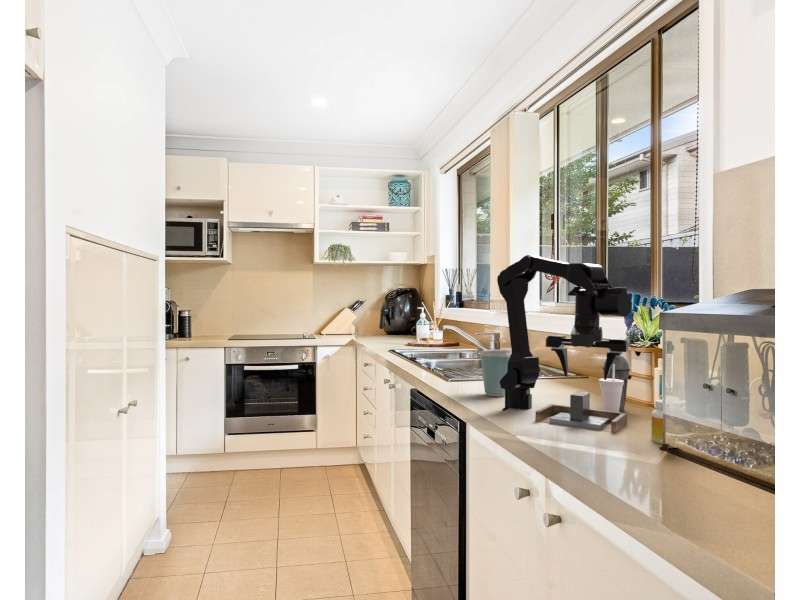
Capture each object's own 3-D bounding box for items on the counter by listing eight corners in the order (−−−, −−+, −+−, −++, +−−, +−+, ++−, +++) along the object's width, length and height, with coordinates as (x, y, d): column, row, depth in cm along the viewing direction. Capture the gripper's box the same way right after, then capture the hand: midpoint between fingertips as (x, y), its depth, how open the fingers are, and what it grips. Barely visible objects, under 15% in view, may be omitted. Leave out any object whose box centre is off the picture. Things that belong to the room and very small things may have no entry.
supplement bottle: (667, 451, 115) (668, 404, 115) (645, 444, 120) (646, 400, 120) (684, 448, 117) (685, 402, 117) (662, 441, 122) (662, 398, 122)
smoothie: (625, 419, 145) (626, 365, 145) (600, 417, 146) (600, 364, 146) (621, 414, 151) (621, 363, 151) (596, 412, 153) (597, 362, 152)
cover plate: (549, 423, 135) (550, 393, 135) (561, 416, 142) (561, 388, 142) (600, 430, 128) (600, 399, 128) (609, 423, 135) (610, 393, 135)
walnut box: (535, 425, 137) (535, 411, 136) (550, 417, 146) (551, 404, 146) (615, 437, 126) (615, 421, 126) (626, 427, 135) (626, 413, 135)
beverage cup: (601, 410, 156) (602, 339, 155) (602, 405, 162) (603, 338, 162) (629, 412, 153) (630, 340, 153) (629, 408, 160) (630, 339, 160)
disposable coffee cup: (473, 395, 177) (474, 348, 176) (487, 391, 186) (487, 346, 186) (505, 399, 171) (506, 351, 171) (517, 394, 180) (518, 348, 180)
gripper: (541, 314, 133) (539, 378, 133) (624, 317, 124) (622, 386, 124) (551, 313, 142) (549, 373, 143) (629, 315, 134) (627, 380, 134)
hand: (585, 378), depth 136 cm, fingers open, 9 cm apart
